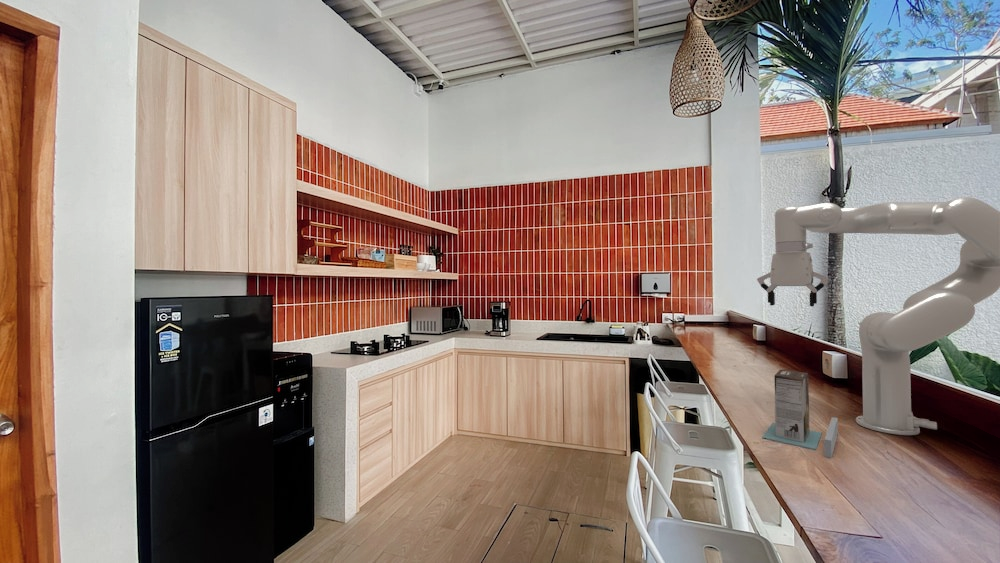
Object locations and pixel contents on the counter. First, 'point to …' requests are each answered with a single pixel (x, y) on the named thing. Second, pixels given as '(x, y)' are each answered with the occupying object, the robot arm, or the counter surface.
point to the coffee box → (791, 405)
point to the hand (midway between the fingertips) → (791, 305)
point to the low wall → (831, 437)
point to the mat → (809, 443)
